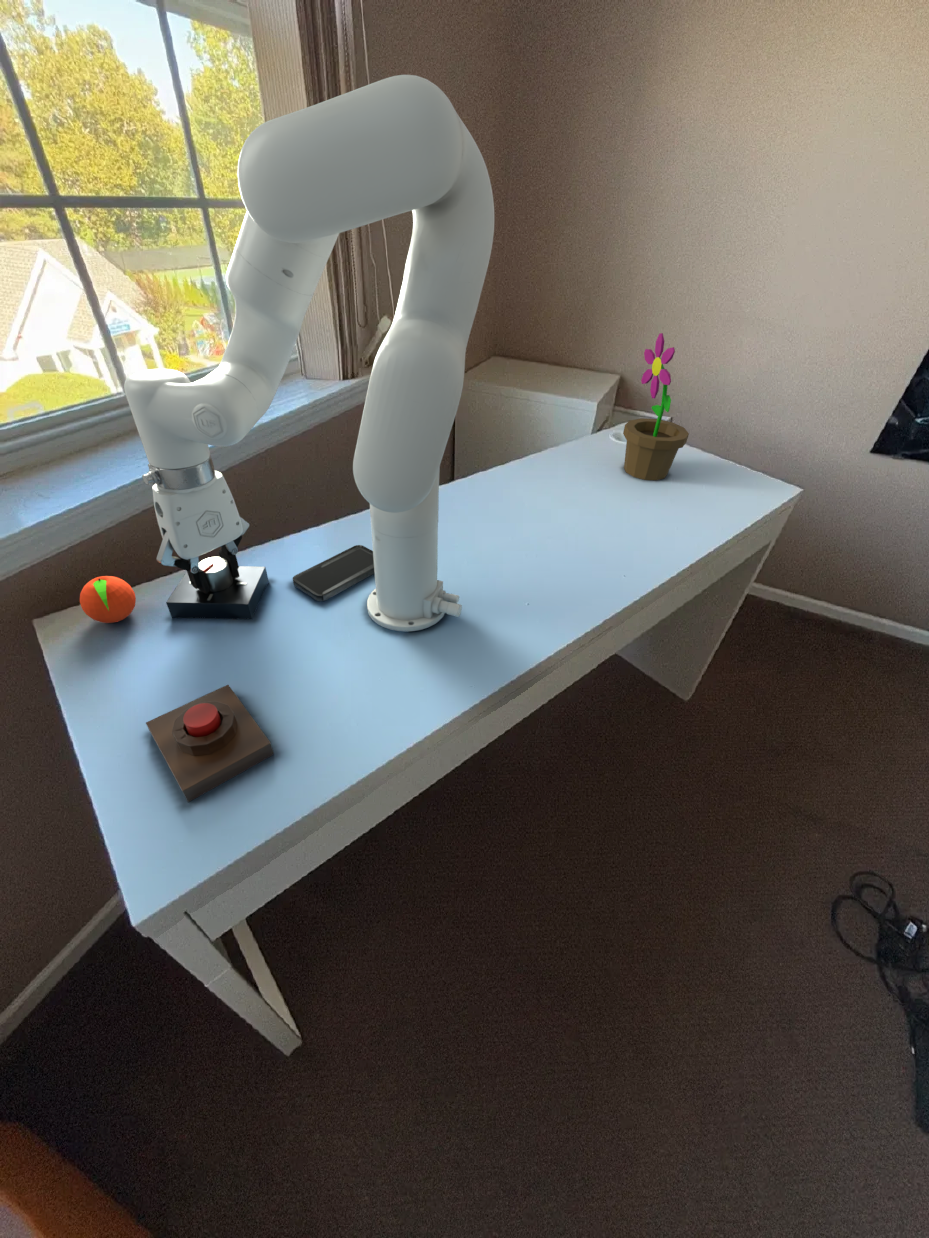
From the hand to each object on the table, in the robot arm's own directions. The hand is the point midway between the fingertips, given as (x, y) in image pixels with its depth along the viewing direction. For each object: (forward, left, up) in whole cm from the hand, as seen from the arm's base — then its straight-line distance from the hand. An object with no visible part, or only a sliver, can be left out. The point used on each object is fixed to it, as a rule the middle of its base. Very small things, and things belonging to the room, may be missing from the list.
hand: (217, 580), depth 85 cm
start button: (-17, +24, 0) cm, 29 cm away
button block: (-17, +24, -4) cm, 30 cm away
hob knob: (0, 0, -1) cm, 1 cm away
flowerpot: (-60, -79, -4) cm, 99 cm away
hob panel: (0, 0, -4) cm, 4 cm away
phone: (-14, -13, -4) cm, 19 cm away
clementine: (+11, +10, -4) cm, 15 cm away
